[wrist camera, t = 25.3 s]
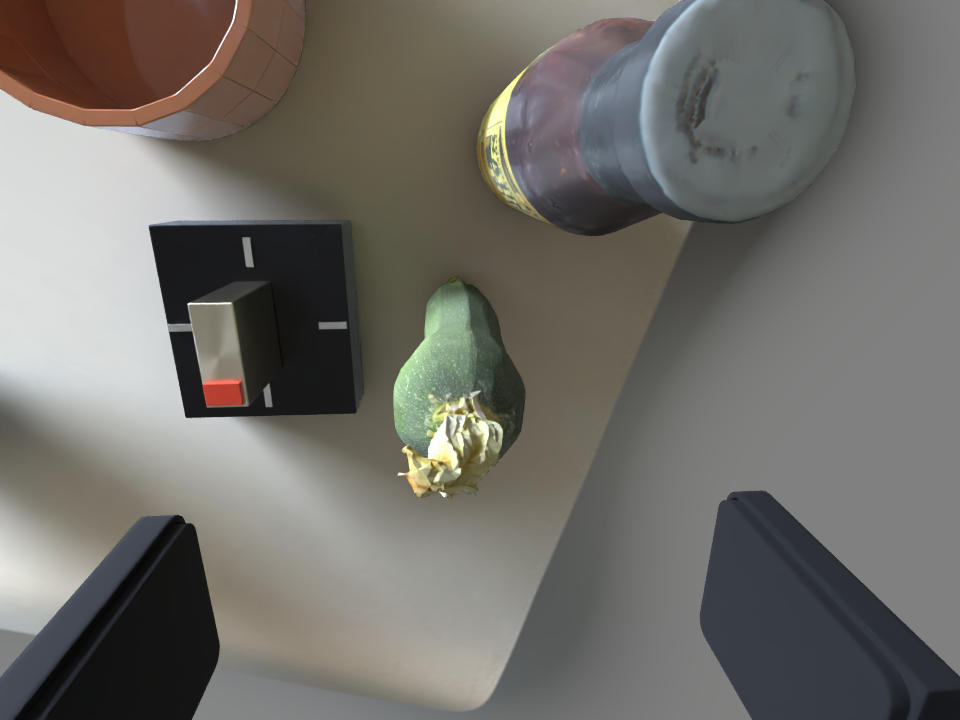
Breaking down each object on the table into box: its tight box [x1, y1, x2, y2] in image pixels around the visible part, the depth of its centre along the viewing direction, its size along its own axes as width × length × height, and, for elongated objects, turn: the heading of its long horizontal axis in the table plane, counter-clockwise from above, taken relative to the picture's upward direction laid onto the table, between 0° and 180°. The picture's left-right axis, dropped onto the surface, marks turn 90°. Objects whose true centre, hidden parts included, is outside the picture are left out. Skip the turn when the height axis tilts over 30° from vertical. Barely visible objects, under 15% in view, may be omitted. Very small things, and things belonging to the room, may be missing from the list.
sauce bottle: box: [477, 0, 856, 236], centre depth 18 cm, size 7×6×20 cm
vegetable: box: [393, 276, 525, 499], centre depth 21 cm, size 4×4×20 cm
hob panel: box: [149, 220, 364, 418], centre depth 28 cm, size 10×9×3 cm
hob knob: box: [188, 281, 282, 408], centre depth 24 cm, size 5×2×5 cm, turn 0°
